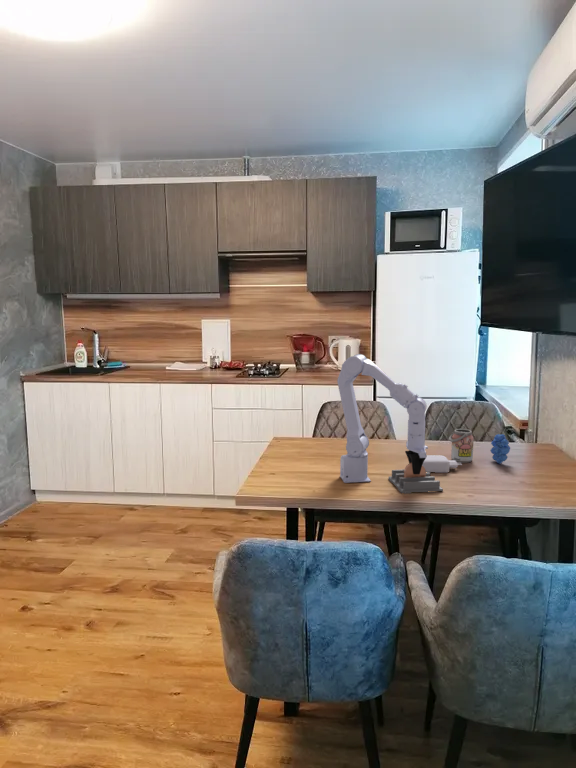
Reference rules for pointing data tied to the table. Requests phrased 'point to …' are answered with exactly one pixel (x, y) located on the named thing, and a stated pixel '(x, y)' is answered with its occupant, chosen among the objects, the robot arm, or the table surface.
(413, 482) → the dish rack
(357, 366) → the robot arm
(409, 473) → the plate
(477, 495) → the table surface
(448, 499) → the table surface
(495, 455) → the grapes
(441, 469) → the charger
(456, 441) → the beverage can
